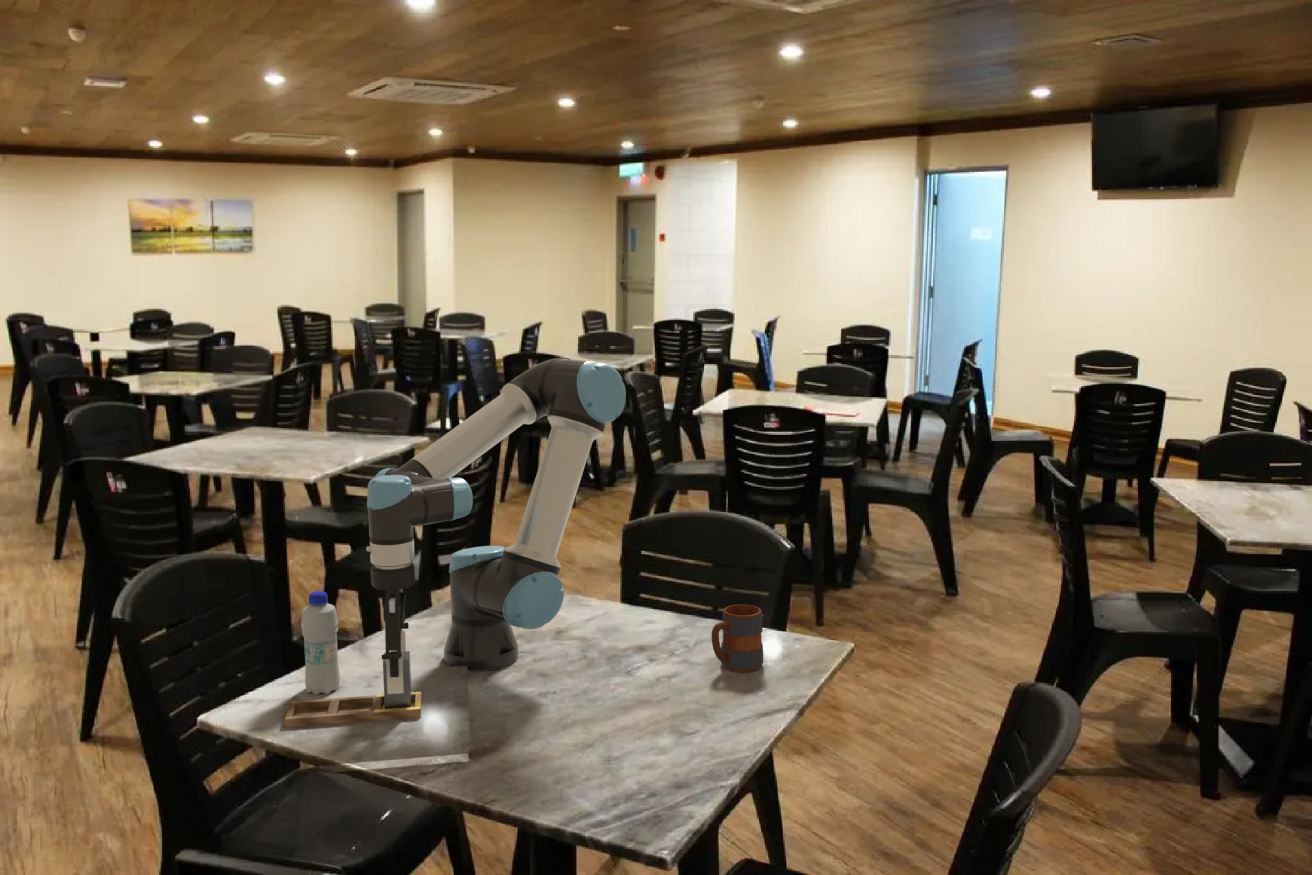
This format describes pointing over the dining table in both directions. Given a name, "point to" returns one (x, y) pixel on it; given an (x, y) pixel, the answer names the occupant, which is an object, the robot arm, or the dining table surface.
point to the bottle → (320, 645)
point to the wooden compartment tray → (348, 710)
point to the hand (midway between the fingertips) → (397, 678)
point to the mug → (739, 638)
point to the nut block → (403, 698)
